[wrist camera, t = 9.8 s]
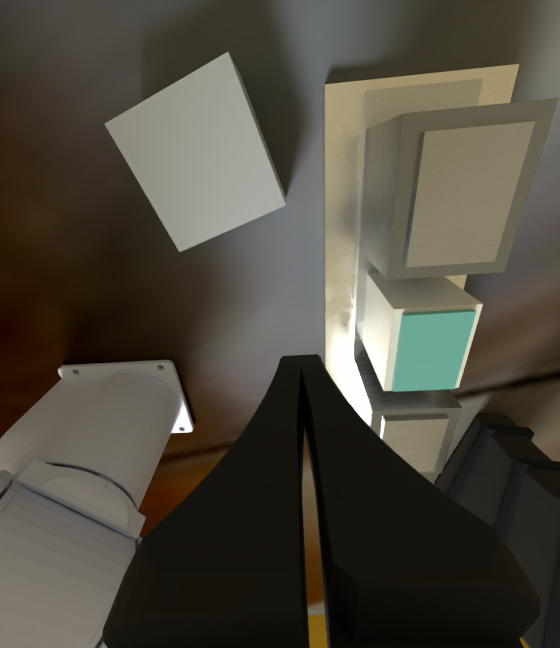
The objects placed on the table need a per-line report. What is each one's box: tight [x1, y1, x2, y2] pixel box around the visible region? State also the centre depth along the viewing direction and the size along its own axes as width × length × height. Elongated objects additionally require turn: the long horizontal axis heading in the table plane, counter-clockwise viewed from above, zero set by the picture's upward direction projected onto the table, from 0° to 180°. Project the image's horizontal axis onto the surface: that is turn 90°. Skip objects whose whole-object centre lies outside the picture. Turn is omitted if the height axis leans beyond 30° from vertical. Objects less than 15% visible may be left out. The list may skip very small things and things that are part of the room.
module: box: [363, 273, 483, 392], centre depth 17 cm, size 4×5×5 cm
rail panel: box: [323, 64, 558, 474], centre depth 17 cm, size 9×24×7 cm, turn 5°
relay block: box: [105, 52, 286, 252], centre depth 15 cm, size 6×6×4 cm
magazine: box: [434, 414, 560, 648], centre depth 23 cm, size 4×13×15 cm, turn 174°
